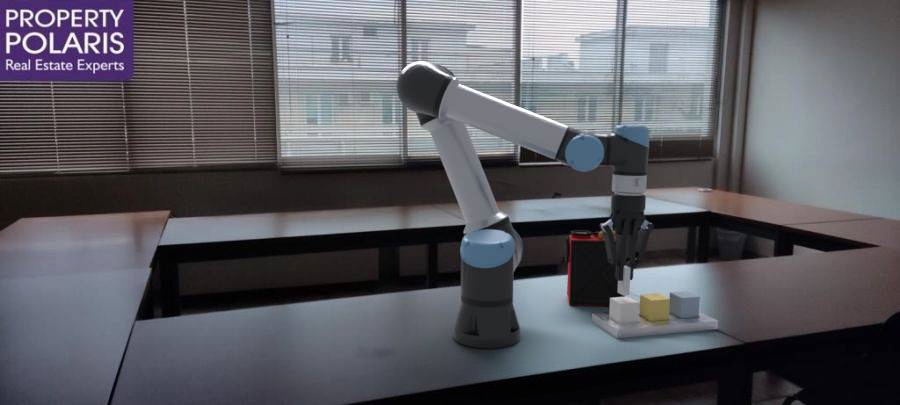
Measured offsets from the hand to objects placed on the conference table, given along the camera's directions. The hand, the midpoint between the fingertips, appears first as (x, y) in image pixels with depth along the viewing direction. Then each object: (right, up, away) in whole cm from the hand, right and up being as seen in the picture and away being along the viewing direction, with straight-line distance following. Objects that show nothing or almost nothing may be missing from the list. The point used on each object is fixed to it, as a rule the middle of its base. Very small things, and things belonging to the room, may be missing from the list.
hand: (623, 293), depth 139 cm
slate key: (+16, -6, +5) cm, 17 cm away
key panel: (+8, -8, +3) cm, 12 cm away
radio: (-2, -6, +22) cm, 23 cm away
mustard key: (+8, -6, +3) cm, 10 cm away
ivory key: (0, -6, +1) cm, 7 cm away
